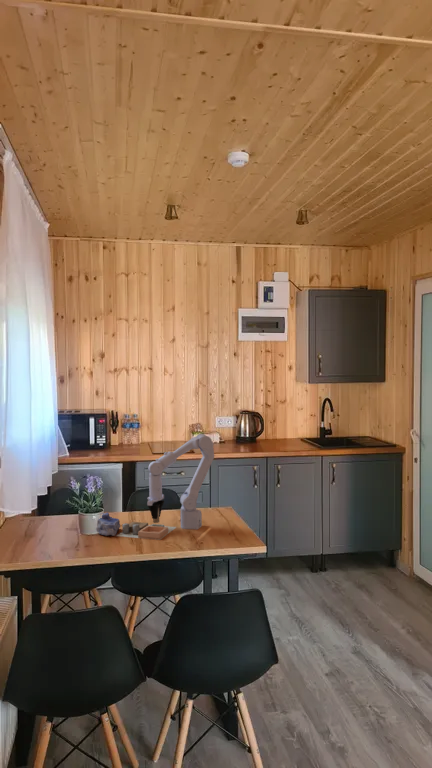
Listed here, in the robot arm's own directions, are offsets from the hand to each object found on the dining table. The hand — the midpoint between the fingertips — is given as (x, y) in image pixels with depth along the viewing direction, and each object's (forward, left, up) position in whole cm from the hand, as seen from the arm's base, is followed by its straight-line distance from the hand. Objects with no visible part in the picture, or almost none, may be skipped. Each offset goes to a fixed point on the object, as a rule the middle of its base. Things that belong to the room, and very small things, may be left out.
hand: (156, 517), depth 255 cm
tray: (-2, +9, -5) cm, 11 cm away
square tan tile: (+8, +4, -5) cm, 10 cm away
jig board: (+3, +5, -6) cm, 8 cm away
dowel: (0, 0, -2) cm, 2 cm away
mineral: (+19, +10, -6) cm, 23 cm away
